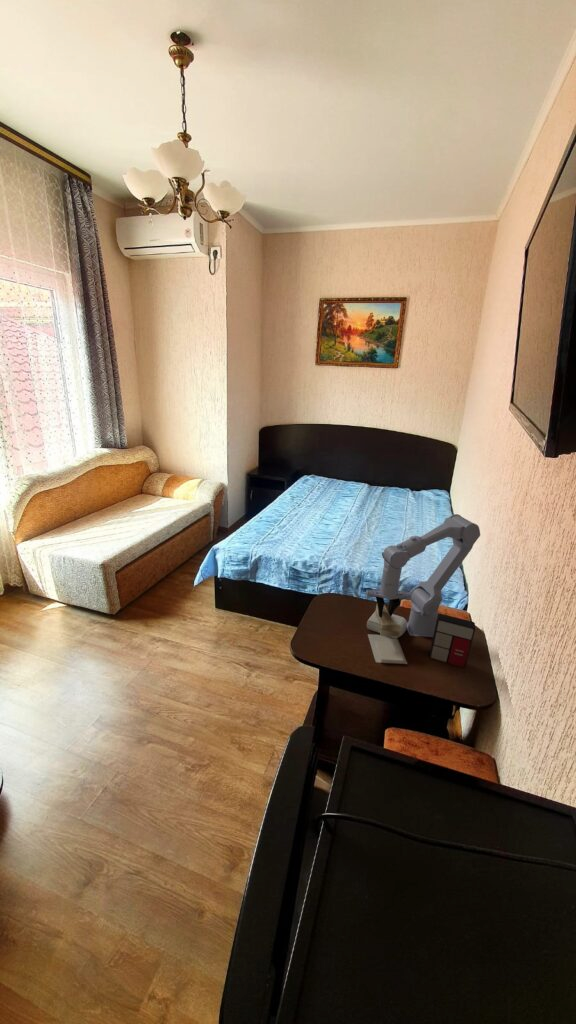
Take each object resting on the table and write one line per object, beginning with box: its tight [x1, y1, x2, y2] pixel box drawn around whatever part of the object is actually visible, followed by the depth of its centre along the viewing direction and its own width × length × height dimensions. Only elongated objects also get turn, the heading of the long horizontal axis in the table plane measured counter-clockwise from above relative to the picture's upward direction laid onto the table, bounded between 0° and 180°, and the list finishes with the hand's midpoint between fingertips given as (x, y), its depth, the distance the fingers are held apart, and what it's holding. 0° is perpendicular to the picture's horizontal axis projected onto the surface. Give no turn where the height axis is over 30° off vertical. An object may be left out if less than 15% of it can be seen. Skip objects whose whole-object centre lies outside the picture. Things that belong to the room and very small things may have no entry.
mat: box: [367, 633, 408, 665], centre depth 134 cm, size 10×14×1 cm
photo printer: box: [366, 610, 408, 639], centre depth 144 cm, size 10×4×12 cm
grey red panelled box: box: [428, 612, 476, 668], centre depth 129 cm, size 11×4×15 cm, turn 68°
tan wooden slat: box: [374, 603, 401, 638], centre depth 138 cm, size 6×16×4 cm, turn 0°
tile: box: [375, 641, 404, 665], centre depth 131 cm, size 7×2×9 cm
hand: (384, 615), depth 139 cm, fingers closed on tan wooden slat, 2 cm apart
